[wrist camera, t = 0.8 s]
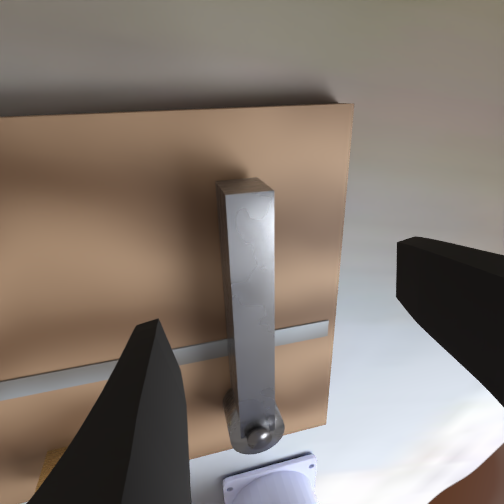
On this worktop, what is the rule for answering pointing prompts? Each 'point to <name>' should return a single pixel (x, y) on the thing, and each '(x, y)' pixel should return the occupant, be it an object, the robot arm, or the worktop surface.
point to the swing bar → (249, 312)
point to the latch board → (157, 262)
